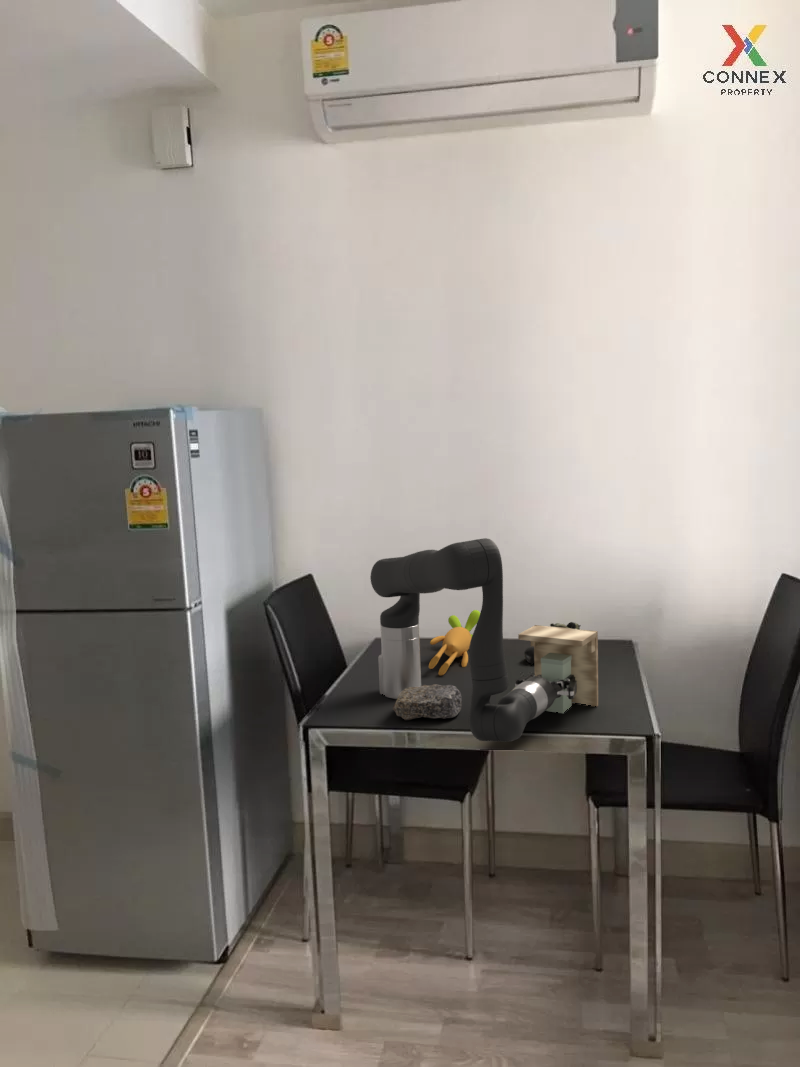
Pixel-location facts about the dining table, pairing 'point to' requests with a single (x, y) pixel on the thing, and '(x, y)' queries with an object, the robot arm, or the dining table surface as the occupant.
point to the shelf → (569, 643)
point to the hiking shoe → (530, 650)
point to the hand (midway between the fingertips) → (560, 677)
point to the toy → (455, 642)
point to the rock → (428, 702)
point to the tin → (555, 669)
